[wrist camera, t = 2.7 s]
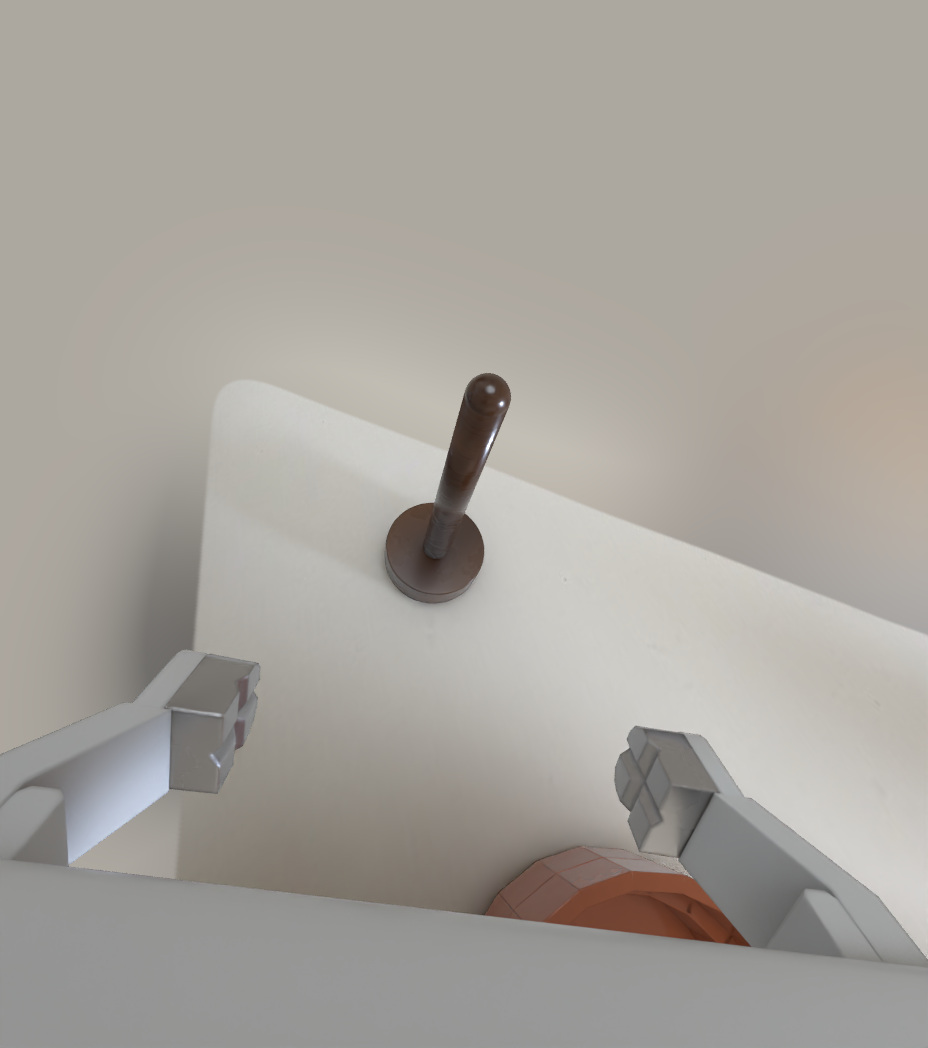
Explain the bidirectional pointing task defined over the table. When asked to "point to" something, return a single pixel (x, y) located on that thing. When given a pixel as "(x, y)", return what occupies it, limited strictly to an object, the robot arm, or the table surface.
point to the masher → (449, 505)
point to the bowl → (614, 897)
